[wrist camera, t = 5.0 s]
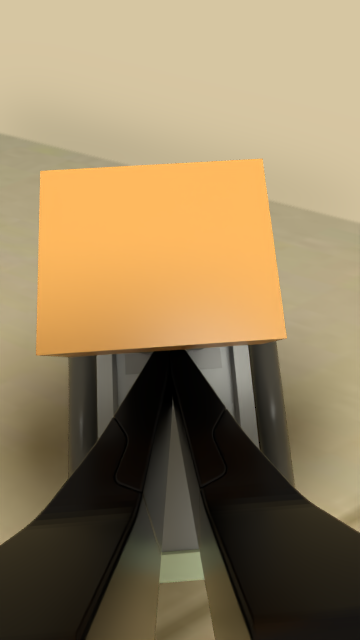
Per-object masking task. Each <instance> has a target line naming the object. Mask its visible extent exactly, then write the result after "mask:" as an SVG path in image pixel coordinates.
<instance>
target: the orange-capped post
mask: <svg viewBox="0 0 360 640" xmlns="http://www.w3.org/2000/svg"><path fill="white" fill-rule="evenodd" d="M286 338H287V336H286V329H285V321H284V314H283V307H282V299H281V292H280V285H279V277H278V270H277V263H276V255H275V248H274V240H273V233H272V226H271V218H270V211H269V204H268V196H267V189H266V182H265V174H264V167H263V159H248V160H231V161H212V162H194V163H176V164H158V165H141V166H122V167H104V168H86V169H68V170H50V171H40V211H39V255H38V298H37V341H36V355H41V356H58V357H79V356H94V355H108V354H123V353H125V375H130V374H140V372H141V371H142V369H143V367H144V366H145V364H146V363H147V361H148V359H149V358H150V356H151V355H152V353H153V351H167V350H182V349H185V350H186V351H187V352H188V354H189V355H190V357H191V358H192V360H193V361H194V362H195V364H196V365H197V367H198V368H199V369H200V370H202V369H216V368H222V362H221V351H220V347H226V346H241V345H256V344H264V343H269V342H273V341H277V340H282V339H286Z"/></svg>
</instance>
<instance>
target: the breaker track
mask: <svg viewBox="0 0 360 640" xmlns="http://www.w3.org/2000/svg"><path fill="white" fill-rule="evenodd" d="M249 348H250V357H251V366H252V375H253V384H254V393H255V402H256V411H257V420H258V429H259V438H260V447H261V452H262V453H263V454H264V455H265V456H266V457H267V458H268V459H269V460H270V462H271V463H272V464H273V465H274V466H275V467H276V468H277V469H278V470H279V472H280V473H281V474H282V475H283V476H284V477H285V478H286V479H287V480H288V482H289V483H290V484H291V485H292V486H293V487H294V488H295V484H294V477H293V469H292V461H291V453H290V445H289V438H288V430H287V422H286V414H285V407H284V399H283V391H282V383H281V376H280V368H279V360H278V352H277V345H276V341H273V342H269V343H264V344H256V345H249ZM220 351H221V362H222V368H216V369H202V370H200V371H201V372H202V374H203V375H204V377H205V378H206V379H207V381H208V382H209V384H210V385H211V386H212V388H213V389H214V391H215V392H216V394H217V395H218V396H219V398H220V399H221V401H222V402H223V404H224V405H225V406H226V409H228V410H229V412H230V413H231V415H232V416H233V418H234V419H235V420H236V422H237V423H238V424H239V426H240V427H241V428H242V429H243V431H244V432H245V433H246V434H247V436H248V437H249V438H250V439H251V440H252V441H253V443H254V444H255V445H256V446H257V447H258V448H259V440H258V431H257V422H256V413H255V404H254V395H253V386H252V377H251V368H250V359H249V350H248V345H241V346H226V347H220ZM138 376H139V374H130V375H125V353H123V354H108V355H94V356H79V357H69V451H68V479H69V477H70V476H71V475H72V474H73V472H74V471H75V470H76V468H77V467H78V466H79V465H80V463H81V462H82V461H83V459H84V458H85V457H86V455H87V454H88V453H89V451H90V450H91V449H92V447H93V446H94V445H95V443H96V442H97V441H98V439H99V438H100V436H101V435H102V433H103V431H104V430H105V428H106V427H107V425H108V424H109V422H110V420H111V419H112V418H113V417H114V414H115V413H116V411H117V409H118V408H119V406H120V405H121V403H122V401H123V400H124V398H125V396H126V395H127V393H128V392H129V390H130V388H131V387H132V385H133V384H134V382H135V380H136V379H137V377H138ZM194 580H204V574H203V568H202V563H201V557H200V551H199V546H198V540H197V535H196V529H195V524H194V518H193V512H192V507H191V501H190V496H189V490H188V485H187V479H186V473H185V468H184V462H183V457H182V451H181V445H180V440H179V434H178V429H177V423H176V418H175V412H174V405H173V411H172V424H171V437H170V450H169V463H168V476H167V488H166V501H165V514H164V527H163V540H162V553H161V566H160V579H159V583H170V582H182V581H194Z"/></svg>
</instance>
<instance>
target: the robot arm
mask: <svg viewBox="0 0 360 640" xmlns="http://www.w3.org/2000/svg"><path fill="white" fill-rule="evenodd" d="M173 405H174V412H175V418H176V423H177V429H178V434H179V440H180V445H181V451H182V457H183V462H184V468H185V473H186V479H187V485H188V490H189V496H190V501H191V507H192V512H193V518H194V524H195V529H196V535H197V540H198V546H199V551H200V557H201V563H202V568H203V574H204V580H205V585H206V591H207V596H208V602H209V608H210V613H211V619H212V624H213V630H214V635H215V640H360V533H359V532H358V531H356V530H355V529H353V528H351V527H350V526H348V525H346V524H345V523H343V522H342V521H340V520H338V519H337V518H335V517H333V516H332V515H330V514H329V513H327V512H325V511H324V510H322V509H320V508H319V507H317V506H316V505H314V504H313V503H311V502H310V501H309V500H307V499H306V498H305V497H304V496H303V495H301V494H300V493H299V492H298V491H297V490H296V489H295V488H294V487H293V486H292V485H291V484H290V483H289V482H288V480H287V479H286V478H285V477H284V476H283V475H282V474H281V473H280V472H279V470H278V469H277V468H276V467H275V466H274V465H273V464H272V463H271V462H270V460H269V459H268V458H267V457H266V456H265V455H264V454H263V453H262V452H261V451H260V449H259V448H258V447H257V446H256V445H255V444H254V443H253V441H252V440H251V439H250V438H249V437H248V436H247V434H246V433H245V432H244V431H243V429H242V428H241V427H240V426H239V424H238V423H237V422H236V420H235V419H234V418H233V416H232V415H231V413H230V412H229V410H228V409H226V406H225V405H224V404H223V402H222V401H221V399H220V398H219V396H218V395H217V394H216V392H215V391H214V389H213V388H212V386H211V385H210V384H209V382H208V381H207V379H206V378H205V377H204V375H203V374H202V372H201V371H200V369H199V368H198V367H197V365H196V364H195V362H194V361H193V360H192V358H191V357H190V355H189V354H188V352H187V351H186V350H185V349H182V350H167V351H153V353H152V355H151V356H150V358H149V359H148V361H147V363H146V364H145V366H144V367H143V369H142V371H141V372H140V374H139V376H138V377H137V379H136V380H135V382H134V384H133V385H132V387H131V388H130V390H129V392H128V393H127V395H126V396H125V398H124V400H123V401H122V403H121V405H120V406H119V408H118V409H117V411H116V413H115V414H114V417H113V418H112V419H111V420H110V422H109V424H108V425H107V427H106V428H105V430H104V431H103V433H102V435H101V436H100V438H99V439H98V441H97V442H96V443H95V445H94V446H93V447H92V449H91V450H90V451H89V453H88V454H87V455H86V457H85V458H84V459H83V461H82V462H81V463H80V465H79V466H78V467H77V468H76V470H75V471H74V472H73V474H72V475H71V476H70V477H69V479H68V480H67V481H66V483H65V484H64V485H63V486H62V488H61V489H60V490H59V492H58V493H57V494H56V495H55V497H54V498H53V499H52V500H51V502H50V503H49V504H48V505H47V507H46V508H45V509H44V510H43V511H42V512H41V513H40V514H39V515H38V516H37V517H36V518H35V519H34V520H33V521H32V522H31V523H30V524H29V525H27V526H26V527H25V528H24V529H22V530H21V531H20V532H18V533H17V534H16V535H14V536H13V537H11V538H10V539H9V540H7V541H6V542H4V543H3V544H2V545H0V640H155V630H156V617H157V605H158V592H159V579H160V566H161V553H162V540H163V527H164V514H165V501H166V488H167V476H168V463H169V450H170V437H171V424H172V411H173Z"/></svg>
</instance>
